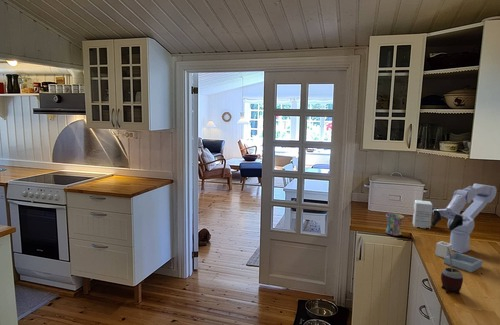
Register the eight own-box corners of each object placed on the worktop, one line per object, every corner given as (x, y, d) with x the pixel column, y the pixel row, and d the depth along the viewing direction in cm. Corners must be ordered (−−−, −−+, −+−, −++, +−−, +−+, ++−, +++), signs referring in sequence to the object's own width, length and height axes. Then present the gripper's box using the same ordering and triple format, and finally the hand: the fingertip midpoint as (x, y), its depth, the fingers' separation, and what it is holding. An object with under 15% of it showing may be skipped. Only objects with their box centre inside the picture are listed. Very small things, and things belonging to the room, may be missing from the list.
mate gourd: (456, 297, 124) (460, 258, 122) (433, 288, 130) (437, 250, 128) (465, 292, 128) (469, 253, 126) (443, 283, 134) (447, 246, 132)
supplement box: (412, 223, 214) (414, 199, 212) (428, 224, 211) (430, 201, 209) (413, 227, 205) (416, 202, 203) (430, 229, 202) (433, 204, 200)
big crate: (455, 258, 160) (455, 252, 159) (481, 266, 151) (482, 260, 151) (443, 263, 153) (444, 257, 153) (470, 272, 145) (471, 266, 144)
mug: (384, 230, 198) (386, 212, 196) (402, 233, 194) (404, 214, 192) (383, 236, 187) (384, 217, 186) (401, 239, 183) (403, 220, 182)
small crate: (440, 252, 166) (441, 241, 165) (451, 256, 162) (452, 244, 161) (435, 255, 163) (436, 243, 162) (446, 258, 159) (447, 246, 158)
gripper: (437, 198, 167) (423, 216, 161) (470, 205, 156) (456, 224, 150) (439, 209, 170) (426, 227, 164) (472, 216, 159) (459, 236, 153)
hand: (441, 226), depth 157 cm, fingers open, 7 cm apart
